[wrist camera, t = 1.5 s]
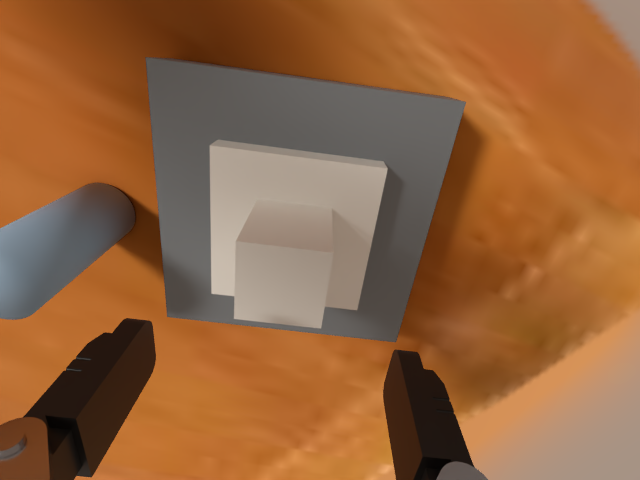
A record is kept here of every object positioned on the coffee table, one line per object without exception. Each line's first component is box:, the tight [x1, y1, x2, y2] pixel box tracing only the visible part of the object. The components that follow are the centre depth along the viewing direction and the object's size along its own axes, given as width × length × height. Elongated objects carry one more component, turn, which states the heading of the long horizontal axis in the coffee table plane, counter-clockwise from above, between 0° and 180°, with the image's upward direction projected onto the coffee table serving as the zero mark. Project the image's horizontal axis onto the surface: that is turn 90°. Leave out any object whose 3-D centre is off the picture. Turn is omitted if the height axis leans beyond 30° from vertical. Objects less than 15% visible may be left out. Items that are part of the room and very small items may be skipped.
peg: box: [0, 183, 135, 320], centre depth 20 cm, size 4×4×9 cm
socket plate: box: [146, 57, 466, 342], centre depth 22 cm, size 16×16×3 cm
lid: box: [210, 140, 388, 329], centre depth 18 cm, size 9×9×6 cm
